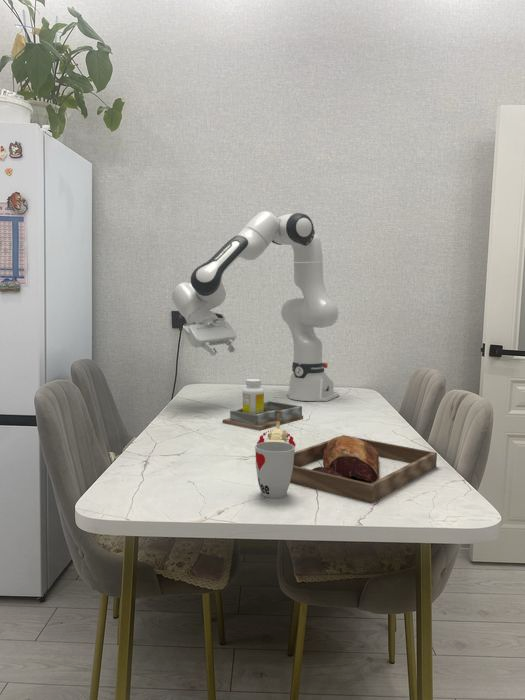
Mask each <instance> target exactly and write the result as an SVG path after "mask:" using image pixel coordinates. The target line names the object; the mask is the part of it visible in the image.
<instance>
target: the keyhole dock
mask: <svg viewBox="0 0 525 700" xmlns="http://www.w3.org/2000/svg"><path fill="white" fill-rule="evenodd" d="M277 413H278V414H280V426H282V425H285V424H287V423H292V422H295V421H299V420H303V419H304V415H303V406H302V405H296V404H289V403H285V402H284V403H283V402H277V401H270V400H267V401H264V413H261V414H257V415H254V414H249V413H243V407H241V408H237V409H233V410H230V411H229V417H228V418H225V419H222V421H221V423H222V424H226V425H231V426H235V427H236V426H237V427H240V428H241V427H242V428H246V429H249V430H250V429H251V430H254V431H255V430H256V431H263V430H266V429H270V428H273V427H276V423H277Z"/></svg>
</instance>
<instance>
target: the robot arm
mask: <svg viewBox="0 0 525 700" xmlns="http://www.w3.org/2000/svg"><path fill="white" fill-rule="evenodd" d="M315 232H316V231H315V227H314V223H313V221H312V219H311V217H309V215H307V214H306V213H305V214H304V213H302V212H296V213H286V214H284V215H280V216H276V215H275V214H273V213H272V212H271V211H266V210H263V211H260V212H259V213H257V214H256V215H255V216H253V217H252V218H251V219H250V220H248V222H247V223H246V224H245V225H244V227H242V229H241V230H240V232H238V234H236V235H235V236H233V237H232V238H231V239H229V240H228V241H227V242H226V243H224V245H223V246H221V248H220V249H219V250H218V251H217V252H216V253H215V254H214V255H213V256H212V257H211V258H210V259H209V260H208V261H207V260H206V262H204V263H202V264H201V265H198V266H197V267H196V268H195V269H194V270H193V272H192V273H191V276H190V282H185V281H182V282H181V283H179V284H177V285H176V286H175V287H174V289H173V291H172V292H171V300H172V302H173V305H174V306H175V307H176V309H177V311H178V312H179V314H180V315H181V316H182V317H184V319H185V321H186V323H184V324H183V326H182V329H183V331H184V333H185V336H186V339H187V340H188V342H189V343H190V345H191V347H193V348H202V349H204V350H205V351H206V352H208V353H209V354H210V355H211V356H216V354H217V353H218V352H217V350H216V348H215V347H212V346H217V345H226V346H227V347H228V348H227V350H228V351H229V353H234V352H235V351H236V347H235V346H234V342H235V340H236V339H237V337H238V336H237V332H236V331H235V330H234V328H233V326H232V325H231V324H230V323H229V322H228V321H227V320H225V319H226V317H225V316H224V315H223V314H221V313H218V312H214V311H212V310H213V309H214V308H216V307H219V306H220V305H221V304H223V303H224V301H225V299H226V290H225V286H224V284H223V281H222V280H223V274H225V271H226V270H228V269H229V268H230V267H231V265H232V264H233V263H234V262H235V261H237V259H239V258H241V259H244V260H246V261H247V260H248V261H252V260H256V259H257V258H259V257H260V256H261V255H262V254H263V253H264V252H265V251H266V249H267V248H268V247H269V246H270V244H271V243H273V244H275V245H278V246H282V245H287V246H289V245H290V246H291V248H292V251H293V281H294V284H295V286H296V287H298V288H299V289H300V291H301V293H302V296H303V297H302V298H301V297H298V298H297V297H296V298H292V299H288V300H286V301H285V302H284V303H283V304H282V307H281V311H280V312H281V318H282V320H283V321H284V322H285V324H287V326H288V328H289V330H290V333H291V337H292V342H293V362H292V365H291V367H292V369H291V371H292V374H291V375H290V377H289V378H290V379H289V386H288V392H286V396H287V397H288V399H291V400H294V401H302V402H303V401H305V402H329V401H331V400H333V399H336V398H337V397H339V396H340V393H339V392H335V390H334V381H333V380H332V379H331V378H330V377H329V376H328V375H327V374H326V372H325V369H328V366H329V364H328V363H326V362H323V343H322V340H321V339H320V338H319V337H318V336H317V334H316V333H315V329H314V328H317V329H318V328H319V329H320V328H323V329H324V328H328V327H332V326H333V325H335V324H336V322H337V321H338V318H339V308H338V306H337V304H336V303H335V302H334V301H333V300H332V299H331V297H330V296H329V293H328V291H327V289H326V286H325V282H324V269H323V268H324V265H323V264H324V263H323V262H324V261H323V250H322V243H321V239H320V237H319V236H318V235H317V234H316V233H315Z"/></svg>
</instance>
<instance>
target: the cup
mask: <svg viewBox="0 0 525 700" xmlns="http://www.w3.org/2000/svg"><path fill="white" fill-rule="evenodd" d="M254 447H255V468H256V470H255V471H256V476H257V477H256V478H257V482H258V486H259V489H260V493H261V496H263V497H264V498H265V497H266V498H270V499H279V498H284V497H285V496H286V495H287V493H288V489H289V487H290V484H291V482H290V480H291V475H292V470H293V462H294V452H296V445H295V446H293V445H292V444H290V443H289V442H286V443H284V442H265V441H264V442H262V443H259V444H257V443H256V444H255V445H254Z"/></svg>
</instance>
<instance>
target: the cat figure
mask: <svg viewBox="0 0 525 700" xmlns="http://www.w3.org/2000/svg"><path fill="white" fill-rule="evenodd" d="M275 427H276V428H274V429H269V430H267V431H265V432H263V433H262V434H261V435H260V436H259V439H258V440H257V443H256V444H259V443H262V442H284V443H287V441H286V440H287V439H288V443H289V444H292V445H293V446H295V447H296V442H295V441H294V437H293V435H292V436H291V434H290V433H288V432H287V429H281V425H280V414H278V413H277V423H276V426H275ZM266 434H267V438H268V439H266V440H265V438H264V436H266Z"/></svg>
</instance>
